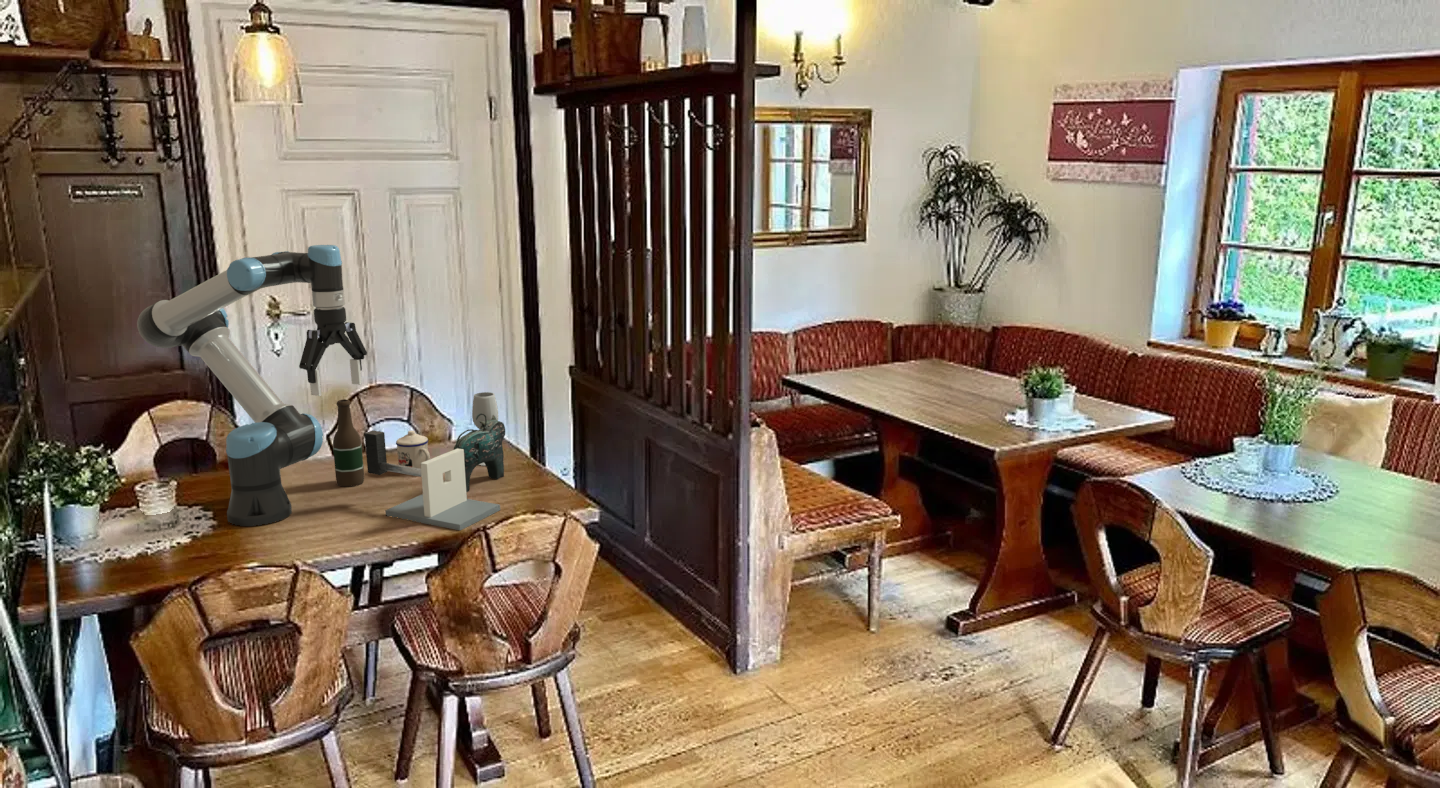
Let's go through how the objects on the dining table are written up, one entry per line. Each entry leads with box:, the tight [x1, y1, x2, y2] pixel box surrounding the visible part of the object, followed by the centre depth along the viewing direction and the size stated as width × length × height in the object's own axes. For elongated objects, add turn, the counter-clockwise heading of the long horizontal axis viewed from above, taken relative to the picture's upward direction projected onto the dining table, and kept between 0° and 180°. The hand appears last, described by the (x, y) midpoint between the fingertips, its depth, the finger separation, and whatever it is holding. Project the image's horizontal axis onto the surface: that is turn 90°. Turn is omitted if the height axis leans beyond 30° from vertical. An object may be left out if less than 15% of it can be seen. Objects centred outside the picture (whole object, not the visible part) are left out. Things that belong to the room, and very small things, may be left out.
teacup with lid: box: [395, 430, 431, 469], centre depth 295 cm, size 12×9×12 cm
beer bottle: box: [332, 399, 365, 488], centre depth 283 cm, size 8×8×24 cm
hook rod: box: [363, 430, 422, 478], centre depth 264 cm, size 3×22×11 cm, turn 64°
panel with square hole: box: [385, 448, 501, 531], centre depth 260 cm, size 16×24×16 cm, turn 65°
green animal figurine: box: [453, 413, 506, 493], centre depth 282 cm, size 20×6×20 cm, turn 152°
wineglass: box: [471, 391, 499, 467], centre depth 301 cm, size 8×8×21 cm
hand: (337, 389), depth 259 cm, fingers open, 13 cm apart
